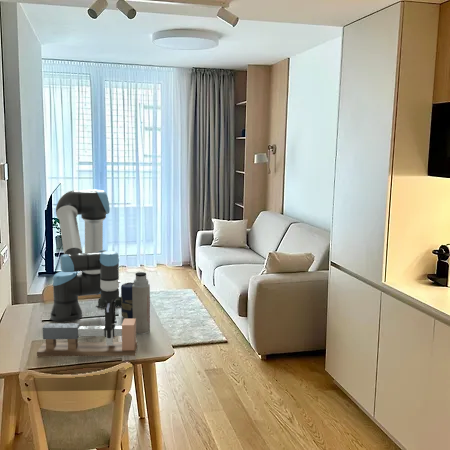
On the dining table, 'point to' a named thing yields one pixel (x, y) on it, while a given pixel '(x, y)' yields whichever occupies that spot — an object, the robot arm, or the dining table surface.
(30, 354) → the dining table surface
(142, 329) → the thermos bottle
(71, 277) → the robot arm
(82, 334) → the telescoping tube
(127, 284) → the canister
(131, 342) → the terracotta socket block
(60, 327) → the charcoal sleeve
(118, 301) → the dark green bar
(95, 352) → the walnut base board
